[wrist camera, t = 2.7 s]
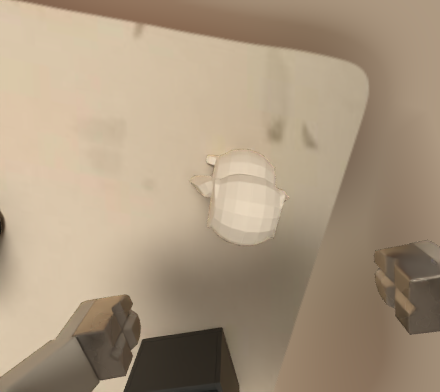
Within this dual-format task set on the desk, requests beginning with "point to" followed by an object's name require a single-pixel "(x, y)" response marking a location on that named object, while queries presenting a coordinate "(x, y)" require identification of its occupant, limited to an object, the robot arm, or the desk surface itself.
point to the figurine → (242, 197)
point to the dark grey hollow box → (184, 364)
